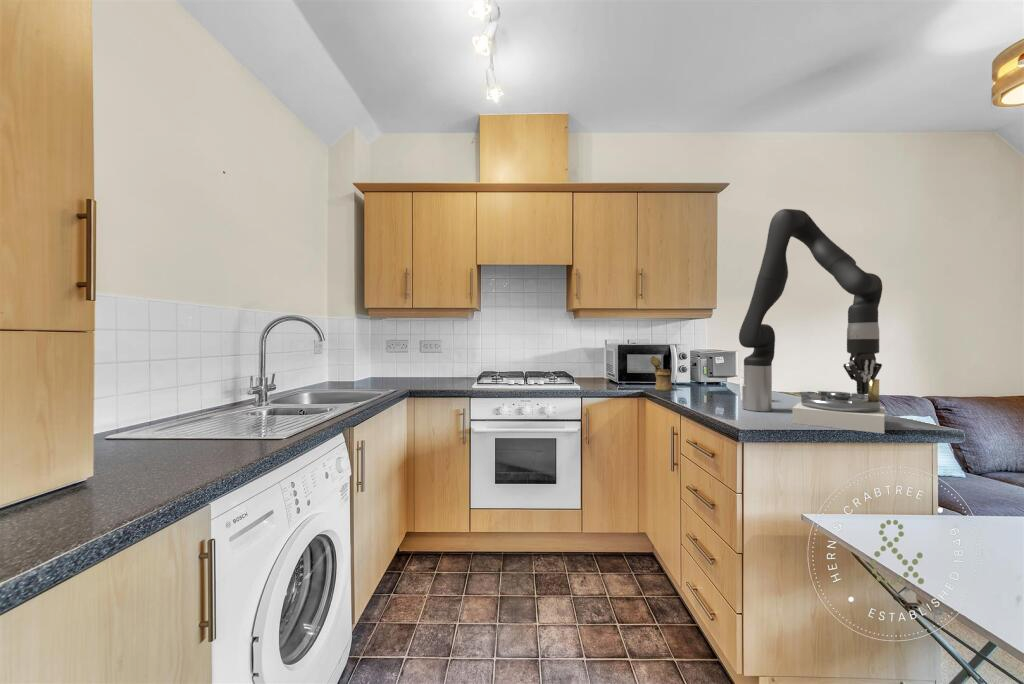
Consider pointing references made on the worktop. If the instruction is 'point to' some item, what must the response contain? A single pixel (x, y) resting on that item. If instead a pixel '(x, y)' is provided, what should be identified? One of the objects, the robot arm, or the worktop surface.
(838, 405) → the handwheel with gold grip
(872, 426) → the block
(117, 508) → the worktop surface
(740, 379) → the white cup
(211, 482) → the worktop surface
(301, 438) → the worktop surface
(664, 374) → the utensil crock with spoon
